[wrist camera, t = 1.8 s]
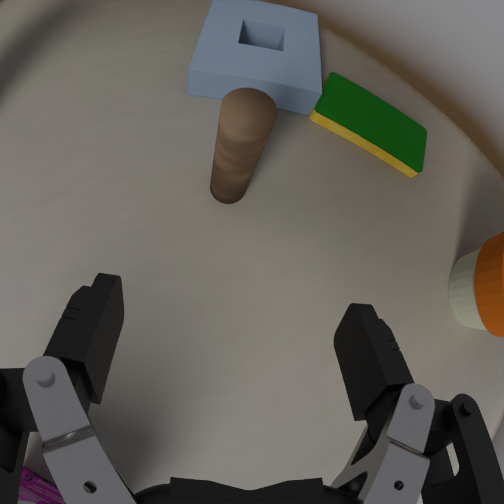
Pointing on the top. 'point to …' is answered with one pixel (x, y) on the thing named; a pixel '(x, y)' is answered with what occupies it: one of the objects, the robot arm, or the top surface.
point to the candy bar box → (37, 490)
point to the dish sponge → (371, 124)
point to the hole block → (258, 54)
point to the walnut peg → (240, 141)
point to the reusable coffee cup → (480, 288)
